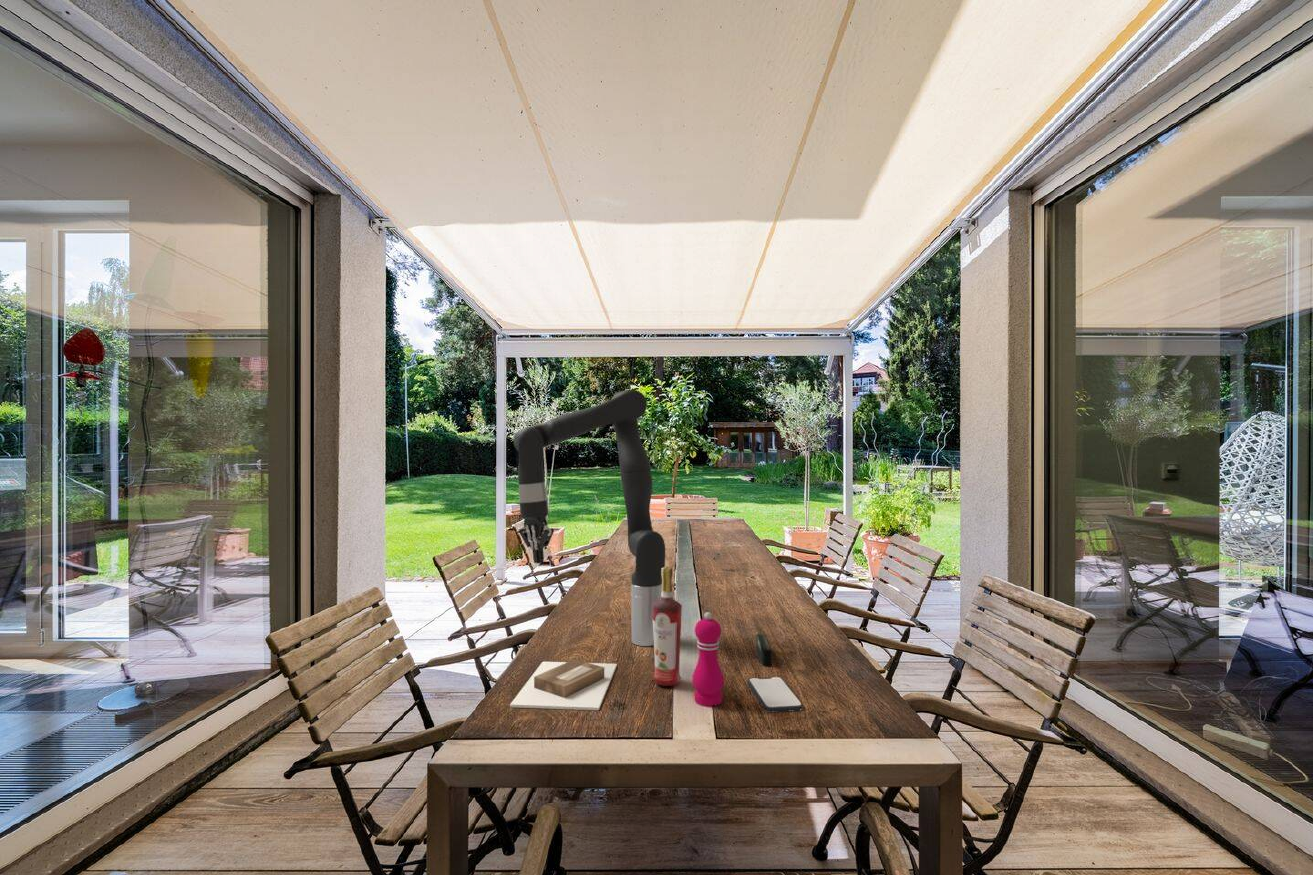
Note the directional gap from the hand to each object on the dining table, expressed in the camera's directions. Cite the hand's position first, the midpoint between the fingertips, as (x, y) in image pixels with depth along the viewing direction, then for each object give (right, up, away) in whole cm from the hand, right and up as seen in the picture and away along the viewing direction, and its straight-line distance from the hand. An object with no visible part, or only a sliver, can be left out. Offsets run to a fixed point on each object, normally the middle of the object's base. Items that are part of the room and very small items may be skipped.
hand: (538, 562), depth 158 cm
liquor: (+35, -26, -17) cm, 47 cm away
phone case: (+60, -26, -24) cm, 70 cm away
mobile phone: (+62, -27, +1) cm, 67 cm away
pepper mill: (+44, -26, -27) cm, 58 cm away
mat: (+11, -26, -18) cm, 33 cm away
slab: (+7, -24, -15) cm, 29 cm away
